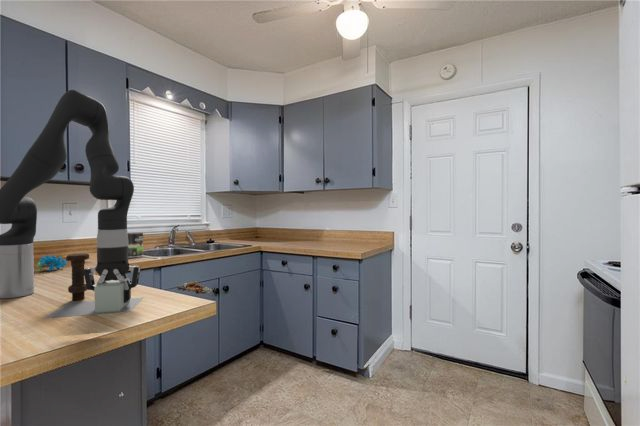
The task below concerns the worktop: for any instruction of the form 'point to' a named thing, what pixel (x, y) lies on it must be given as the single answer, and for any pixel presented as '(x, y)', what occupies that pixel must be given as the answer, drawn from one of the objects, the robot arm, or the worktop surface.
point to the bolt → (77, 275)
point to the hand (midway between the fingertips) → (113, 302)
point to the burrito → (194, 288)
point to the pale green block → (109, 296)
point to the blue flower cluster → (51, 262)
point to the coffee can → (135, 245)
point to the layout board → (88, 308)
